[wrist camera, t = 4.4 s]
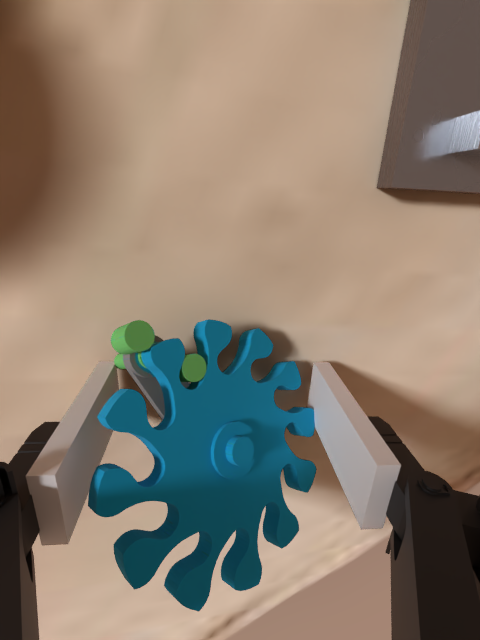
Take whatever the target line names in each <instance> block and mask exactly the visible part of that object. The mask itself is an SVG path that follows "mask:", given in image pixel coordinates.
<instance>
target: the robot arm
mask: <svg viewBox="0 0 480 640" xmlns="http://www.w3.org/2000/svg"><path fill="white" fill-rule="evenodd" d="M118 390H119V386H118V375H117V367H116V366H115V364H114V361H99V362H98V364H97V365H96V367H95V368H94V370H93V372H92V373H91V375H90V376H89V378H88V379H87V381H86V382H85V384H84V386H83V387H82V389H81V390H80V392H79V393H78V395H77V397H76V398H75V400H74V401H73V403H72V404H71V406H70V408H69V409H68V411H67V412H66V414H65V415H64V417H63V418H62V420H61V422H44V423H43V424H42V425H40V426H39V427H38V428H36V429H35V430H34V431H32V433H31V434H30V435H29V437H28V438H27V440H26V441H25V442H24V444H23V445H22V446H21V448H20V449H19V450H18V453H17V454H16V455H15V456H14V457H13V459H12V460H11V461H10V463H9V464H7V463H5V462H0V640H39V629H38V614H37V599H36V584H35V568H34V555H33V551H32V545H33V543H34V541H35V539H36V537H37V535H38V533H39V535H40V540H41V544H42V545H58V544H68V543H69V541H70V538H71V536H72V533H73V531H74V528H75V525H76V523H77V520H78V518H79V515H80V513H81V510H82V508H83V505H84V503H85V500H86V498H87V495H88V493H89V490H90V483H91V480H92V476H93V474H94V472H95V470H96V467H98V466H99V465H100V462H101V460H102V457H103V455H104V452H105V450H106V447H107V445H108V442H109V440H110V437H111V435H112V432H113V430H111V429H108V428H106V427H104V426H103V425H102V424H101V423H100V422H99V420H98V417H97V416H98V414H99V413H100V411H101V409H102V408H103V406H104V405H105V403H106V402H107V401H108V399H109V398H110V397H111V396H112V395H113V394H114V393H116V392H117V391H118ZM307 408H312V409H313V410H314V418H315V428H316V430H317V433H318V435H319V437H320V439H321V442H322V444H323V446H324V448H325V450H326V453H327V455H328V457H329V459H330V462H331V464H332V466H333V468H334V470H335V473H336V475H337V477H338V479H339V482H340V484H341V486H342V488H343V490H344V493H345V495H346V497H347V499H348V502H349V504H350V506H351V508H352V510H353V513H354V515H355V517H356V519H357V522H358V524H359V526H360V528H361V529H381V528H383V526H384V523H385V519H386V516H387V517H388V519H389V521H390V522H391V524H392V526H393V529H392V532H391V535H390V539H389V542H388V545H387V549H386V553H388V554H389V553H390V550H391V618H392V619H391V620H392V640H480V496H476V495H472V494H468V493H463V492H459V491H455V490H453V489H452V487H451V486H450V485H449V484H448V483H447V482H446V481H445V480H444V479H442V478H441V477H439V476H438V475H435V474H433V473H431V472H428V471H425V470H424V469H423V468H422V467H421V465H420V464H419V463H418V461H417V460H416V459H415V457H414V456H413V455H412V454H411V452H410V451H409V450H408V448H407V447H406V446H405V445H404V444H403V443H402V441H401V439H400V438H399V437H398V436H397V435H396V433H395V432H394V430H393V429H392V428H391V426H390V425H389V424H388V423H386V422H385V421H383V420H382V419H381V418H379V417H367V416H366V414H365V413H364V411H363V410H362V409H361V407H360V406H359V404H358V403H357V401H356V400H355V399H354V397H353V396H352V394H351V393H350V391H349V390H348V389H347V387H346V386H345V384H344V383H343V382H342V380H341V379H340V377H339V376H338V374H337V373H336V372H335V370H334V369H333V367H332V366H331V364H330V363H329V362H314V364H313V371H312V377H311V384H310V391H309V398H308V404H307Z"/></svg>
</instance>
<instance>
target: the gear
mask: <svg viewBox="0 0 480 640" xmlns="http://www.w3.org/2000/svg"><path fill="white" fill-rule="evenodd" d="M231 338H232V330H231V327H230V326H229V325H227V324H226V323H223V322H220V321H216V320H205V321H202V322H198V323H197V324H196V326H195V328H194V339H195V342H196V346H197V354H188V355H185V349H184V346H183V344H182V342H181V341H180V339H179V338H176V339H169V340H165V341H163V340H162V339H161V338H159V337H157V336H155V335H154V331H153V329H152V327H151V326H150V325H149V324H148V323H147V322H144V321H141V320H138V321H133V322H131V323H129V324H126V325H124V326H121V327H119V328H117V329H116V330H115V331H114V332H113V334H112V337H111V343H112V346H113V348H114V349H115V350H116V351H117V352H118V353H120V354H118V355H117V356H116V357H115V359H114V364H115V366H116V367H117V368H119V369H127V371H128V372H129V374H130V375H131V376H132V378H133V379H134V381H135V382H136V383H137V385H138V386H139V388H140V389H141V390H142V392H143V393H144V395H145V396H146V397H147V399H148V400H149V402H150V403H151V405H152V406H153V407H154V409H155V410H156V412H157V413H158V414H159V416H160V417H161V419H162V422H161V423H160V424H159V425H158V426H156V427H154V428H152V427H151V426H150V424H149V422H148V419H147V410H146V403H145V400H144V398H143V397H142V395H141V394H140V393H138V392H137V391H135V390H132V389H120V390H118V391H117V392H116V393H114V394H113V395H112V396H111V397H110V398H109V399H108V401H107V402H106V403H105V405H104V406H103V408H102V409H101V411H100V413H99V414H98V416H97V417H98V420H99V422H100V423H101V424H102V425H103V426H104V427H106V428H108V429H111V430H114V431H118V432H128V433H131V434H133V435H135V436H136V437H137V438H139V439H140V440H141V441H142V442H143V443H144V444H145V445H146V446H147V448H148V449H149V450H150V452H151V453H152V455H153V456H154V460H155V465H154V469H153V471H152V473H151V474H150V476H149V477H148V478H146V479H145V480H143V481H141V482H137V481H136V480H135V479H134V478H133V476H132V475H131V474H130V473H129V472H128V471H126V470H125V469H123V468H121V467H119V466H117V465H115V464H103V465H100V466H98V467H96V470H95V472H94V474H93V476H92V480H91V483H90V490H89V500H88V506H89V507H90V508H91V509H92V510H93V511H94V512H95V513H96V514H98V515H99V516H102V517H111V516H114V515H117V514H119V513H120V512H122V511H123V510H125V509H126V508H128V507H130V506H133V505H135V504H137V503H141V502H145V501H161V502H165V503H167V506H168V514H167V517H166V520H165V522H164V523H163V524H162V526H161V527H159V528H158V529H157V530H154V531H143V530H130V531H128V532H126V533H124V534H123V535H121V536H120V537H119V538H118V539H117V541H116V542H115V544H114V554H115V559H116V562H117V564H118V567H119V569H120V570H121V572H122V574H123V576H124V577H125V579H126V580H127V581H128V582H129V583H130V585H131V586H132V587H133V588H134V589H137V588H140V587H142V586H144V585H145V584H147V583H148V582H149V581H150V580H151V579H152V577H153V576H154V575H155V573H156V571H157V569H158V567H159V566H160V564H161V563H162V561H163V560H164V558H165V557H166V556H167V554H168V553H169V552H170V551H171V550H172V549H173V548H174V547H175V546H176V545H177V544H179V543H180V542H181V541H183V540H184V539H186V538H188V537H189V536H191V535H193V534H195V533H197V532H199V535H200V536H199V542H198V545H197V547H196V549H195V550H194V551H193V552H192V553H191V554H190V555H188V556H187V557H185V558H183V559H181V560H179V561H178V562H177V563H175V564H174V565H173V566H172V568H171V569H170V570H169V572H168V574H167V577H166V579H165V584H164V586H165V588H166V589H167V590H168V591H169V592H170V593H171V594H172V595H173V596H174V597H175V598H176V599H177V600H178V601H179V602H180V603H181V604H182V605H183V606H185V607H187V608H189V609H192V610H196V611H200V609H201V608H202V607H203V606H204V604H205V603H206V601H207V598H208V596H209V592H210V587H211V579H212V574H213V570H214V567H215V564H216V561H217V559H218V556H219V554H220V552H221V550H222V549H223V547H224V545H225V544H226V542H227V541H228V539H229V538H230V536H231V535H232V534H233V532H234V531H235V530H236V538H235V541H234V544H233V545H232V547H231V548H230V550H229V551H228V553H227V554H226V556H225V558H224V560H223V563H222V567H221V577H222V580H223V581H224V582H226V583H227V584H228V585H230V586H231V587H232V588H234V589H235V590H239V591H243V590H247V589H250V588H252V587H254V586H256V585H258V584H259V582H260V579H261V574H262V566H261V562H260V559H259V554H258V546H257V538H258V529H259V523H260V519H261V514H262V511H263V509H264V507H265V506H266V513H265V518H264V522H263V534H264V537H265V539H266V540H267V541H268V542H270V543H272V544H274V545H276V546H278V547H280V548H284V547H285V546H287V545H288V544H289V543H290V542H291V540H292V539H293V538H294V537H295V535H296V534H297V532H298V531H299V525H298V521H297V518H296V517H295V515H293V514H292V513H291V512H290V510H289V509H288V507H287V505H286V503H285V501H284V498H283V494H282V488H281V481H280V476H281V471H282V469H283V471H284V478H285V482H286V484H287V485H288V486H289V487H290V488H293V489H296V490H299V491H303V492H308V491H309V489H310V488H311V485H312V483H313V480H314V477H315V473H316V467H315V465H314V463H313V462H311V461H308V460H303V459H299V458H298V457H296V456H295V455H294V454H293V452H292V451H291V450H290V448H289V446H288V445H287V443H286V441H285V437H284V432H285V429H286V427H287V429H288V430H289V432H290V433H291V434H293V435H298V436H306V437H311V436H313V434H314V429H315V418H314V410H313V409H312V408H306V407H293V408H291V409H290V410H288V411H284V410H282V409H280V408H278V407H277V406H276V404H275V401H274V392H275V390H276V389H279V390H296V389H298V388H299V387H300V385H301V378H300V374H299V371H298V368H297V366H296V363H295V362H294V361H289V362H279V363H276V364H275V365H274V366H273V367H272V369H271V371H270V372H269V374H268V375H267V376H266V377H264V378H263V379H261V380H260V381H257V382H256V381H254V379H253V378H252V376H251V365H252V363H253V362H254V360H256V359H259V358H265V357H268V356H269V355H270V354H271V352H272V349H273V344H272V342H271V340H270V339H269V338H268V336H267V335H266V334H265V333H264V332H263V331H261V330H260V329H259V328H257V329H252V330H248V331H245V332H244V333H242V335H241V336H240V339H239V347H238V351H237V354H236V356H235V358H234V360H233V362H232V363H231V364H230V366H229V367H228V368H227V369H226V370H225V371H224V372H223V373H222V372H221V371H220V369H219V367H218V364H217V358H218V355H219V353H220V352H221V351H222V350H223V349H224V348H225V347H226V346H227V345H228V344H229V343H230V341H231ZM188 382H191V384H189V383H188Z"/></svg>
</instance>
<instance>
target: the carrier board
mask: <svg viewBox="0 0 480 640" xmlns="http://www.w3.org/2000/svg"><path fill="white" fill-rule="evenodd" d="M377 188H388V189H405V190H421V191H438V192H455V193H472V194H480V0H411V1H410V7H409V12H408V18H407V23H406V29H405V35H404V40H403V46H402V51H401V57H400V62H399V68H398V73H397V79H396V84H395V90H394V95H393V101H392V106H391V112H390V117H389V123H388V129H387V134H386V140H385V145H384V151H383V156H382V162H381V167H380V173H379V178H378V184H377Z"/></svg>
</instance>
